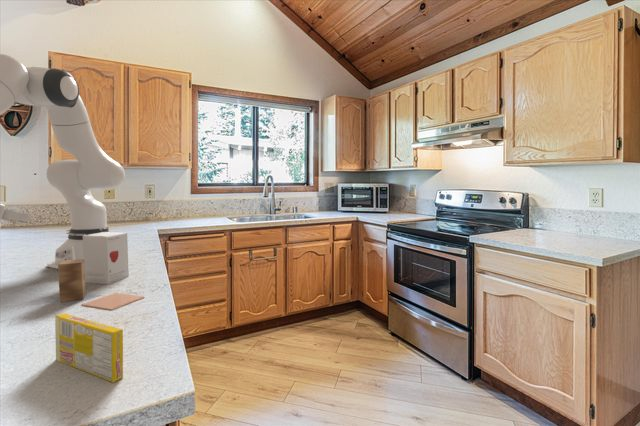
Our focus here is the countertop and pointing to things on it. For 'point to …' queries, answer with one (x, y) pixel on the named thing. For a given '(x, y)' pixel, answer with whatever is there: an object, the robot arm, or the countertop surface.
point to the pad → (113, 301)
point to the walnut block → (72, 280)
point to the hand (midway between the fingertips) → (29, 219)
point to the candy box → (89, 346)
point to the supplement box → (105, 257)
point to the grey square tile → (57, 301)
